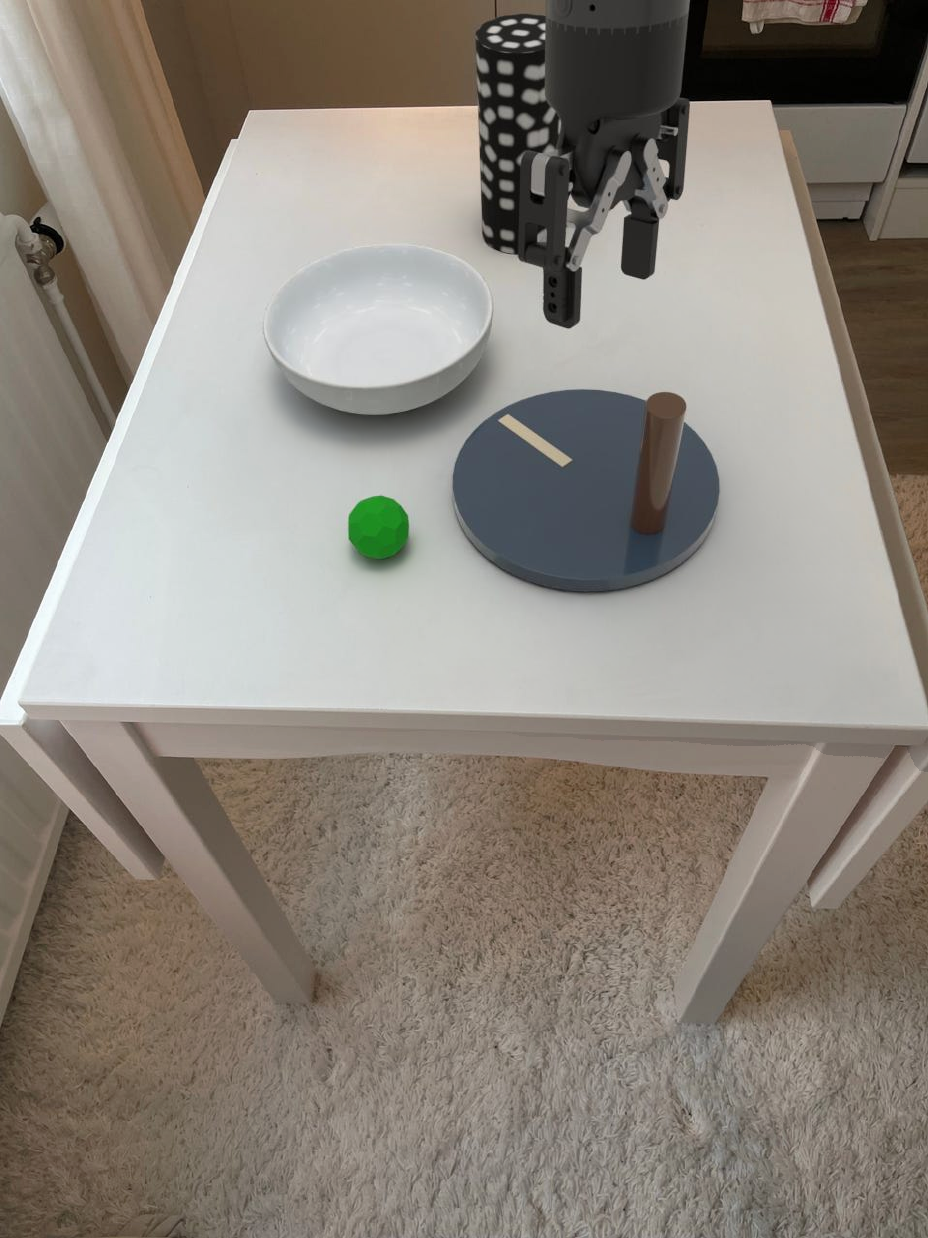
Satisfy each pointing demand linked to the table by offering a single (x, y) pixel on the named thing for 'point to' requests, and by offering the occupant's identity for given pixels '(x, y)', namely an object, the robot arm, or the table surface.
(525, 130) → the spotted tube
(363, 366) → the serving bowl
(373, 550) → the polyhedron
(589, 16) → the robot arm
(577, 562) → the peg stand
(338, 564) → the table surface
